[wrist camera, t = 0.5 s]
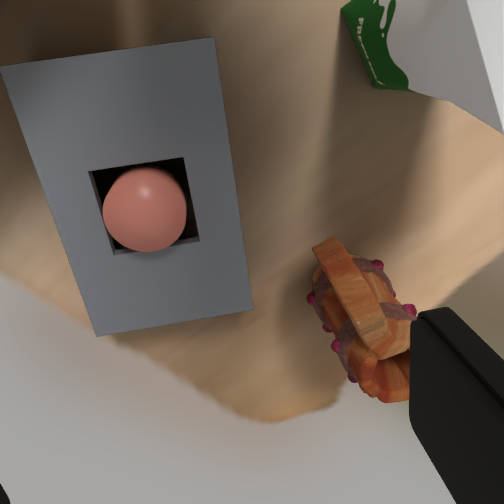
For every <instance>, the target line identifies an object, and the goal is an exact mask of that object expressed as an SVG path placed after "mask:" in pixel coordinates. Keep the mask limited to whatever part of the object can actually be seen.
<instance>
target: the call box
mask: <svg viewBox="0 0 504 504" xmlns="http://www.w3.org/2000/svg"><path fill="white" fill-rule="evenodd" d="M0 73H1V75H2V78H3V81H4V84H5V86H6V89H7V92H8V95H9V97H10V100H11V103H12V106H13V108H14V111H15V114H16V117H17V119H18V122H19V125H20V128H21V130H22V133H23V136H24V139H25V141H26V144H27V147H28V150H29V152H30V155H31V158H32V161H33V163H34V166H35V169H36V172H37V174H38V177H39V180H40V183H41V185H42V188H43V191H44V194H45V196H46V199H47V202H48V205H49V207H50V210H51V213H52V216H53V218H54V221H55V224H56V227H57V229H58V232H59V235H60V238H61V240H62V243H63V246H64V249H65V251H66V254H67V257H68V260H69V262H70V265H71V268H72V271H73V273H74V276H75V279H76V282H77V284H78V287H79V290H80V293H81V295H82V298H83V301H84V304H85V306H86V309H87V312H88V315H89V317H90V320H91V323H92V326H93V328H94V331H95V334H96V337H99V336H104V335H110V334H116V333H122V332H128V331H133V330H139V329H145V328H151V327H157V326H163V325H168V324H174V323H180V322H186V321H192V320H198V319H203V318H209V317H215V316H221V315H227V314H232V313H238V312H244V311H250V310H253V303H252V296H251V289H250V282H249V275H248V268H247V261H246V255H245V248H244V241H243V234H242V227H241V220H240V213H239V206H238V199H237V192H236V185H235V178H234V171H233V164H232V158H231V151H230V144H229V137H228V130H227V123H226V116H225V109H224V102H223V95H222V88H221V81H220V74H219V67H218V61H217V54H216V47H215V40H214V37H208V38H201V39H194V40H186V41H179V42H172V43H164V44H157V45H150V46H142V47H135V48H128V49H120V50H113V51H106V52H98V53H91V54H84V55H76V56H69V57H62V58H54V59H47V60H39V61H32V62H25V63H19V64H12V65H6V66H0ZM179 157H184V162H185V168H186V173H187V178H188V183H189V188H190V193H191V198H192V203H193V208H194V213H195V218H196V223H197V229H198V234H199V237H194V238H187V239H181V240H176V241H175V242H174V243H173V244H171V245H170V246H168V247H166V248H164V249H161V250H158V251H153V252H141V251H136V250H132V249H129V248H125V249H119V250H115V247H114V243H113V240H112V237H111V234H110V233H109V231H108V229H107V228H106V225H105V223H104V219H103V207H102V203H101V200H100V197H99V194H98V190H97V187H96V184H95V180H94V177H93V174H92V171H93V170H100V169H106V168H113V167H120V166H126V165H133V164H139V163H146V162H153V161H159V160H166V159H173V158H179Z"/></svg>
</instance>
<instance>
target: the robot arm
mask: <svg viewBox="0 0 504 504" xmlns="http://www.w3.org/2000/svg"><path fill="white" fill-rule="evenodd" d="M409 417H410V422H411V425H412V428H413V430H414V432H415V434H416V436H417V437H418V439H419V441H420V442H421V444H422V446H423V447H424V449H425V451H426V453H427V454H428V456H429V458H430V459H431V461H432V463H433V464H434V466H435V468H436V470H437V471H438V473H439V475H440V476H441V478H442V480H443V481H444V483H445V485H446V487H447V488H448V490H449V492H450V493H451V495H452V497H453V499H454V500H455V502H456V504H504V360H503V359H502V358H501V357H500V356H499V355H498V354H497V353H496V352H495V351H494V350H493V349H492V348H490V346H488V345H487V343H485V342H484V341H483V340H482V339H481V338H480V337H479V336H478V335H477V334H476V333H475V332H474V331H473V330H472V329H471V328H470V327H469V326H468V325H467V324H466V323H465V322H464V321H463V320H462V319H461V318H460V317H459V316H458V315H457V314H456V313H455V312H454V311H453V310H451V309H450V308H449V307H442V308H437V309H432V310H427V311H422V312H420V313H419V314H418V316H417V320H413V321H411V324H410V374H409ZM0 504H10V500H9V498H8V496H7V494H6V492H5V491H4V489H3V487H2V486H1V484H0Z"/></svg>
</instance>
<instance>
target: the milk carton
mask: <svg viewBox="0 0 504 504" xmlns="http://www.w3.org/2000/svg"><path fill="white" fill-rule="evenodd" d="M341 11H342V13H343V15H344V18H345V20H346V23H347V25H348V27H349V30H350V32H351V35H352V37H353V39H354V42H355V44H356V47H357V49H358V51H359V54H360V56H361V59H362V61H363V63H364V66H365V68H366V71H367V73H368V75H369V78H370V80H371V83H372V85H373V87H374V88H376V89H390V90H403V91H410V92H414V93H418V94H422V95H426V96H430V97H434V98H438V99H442V100H446V101H449V102H451V103H453V104H455V105H456V106H458V107H460V108H462V109H463V110H465V111H467V112H468V113H470V114H471V115H473V116H475V117H476V118H478V119H480V120H481V121H483V122H484V123H486V124H488V125H489V126H491V127H493V128H494V129H496V130H497V131H499V132H501V133H502V134H504V0H351V1H350V2H349V3H348V4H346V5H345V6H344V7H342V8H341Z"/></svg>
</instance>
